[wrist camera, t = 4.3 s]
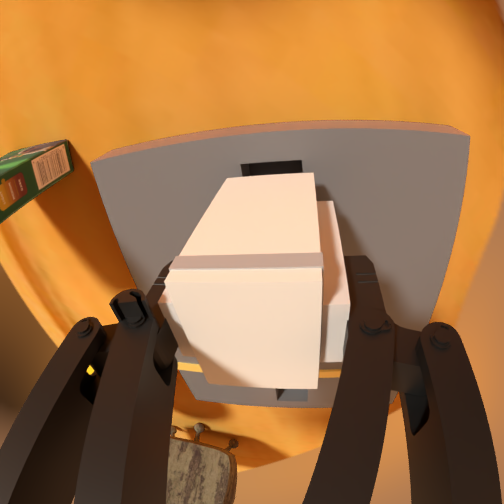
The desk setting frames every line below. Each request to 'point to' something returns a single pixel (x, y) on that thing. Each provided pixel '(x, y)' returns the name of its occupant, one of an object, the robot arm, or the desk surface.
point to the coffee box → (31, 174)
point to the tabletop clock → (200, 471)
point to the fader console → (327, 189)
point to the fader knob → (254, 284)
